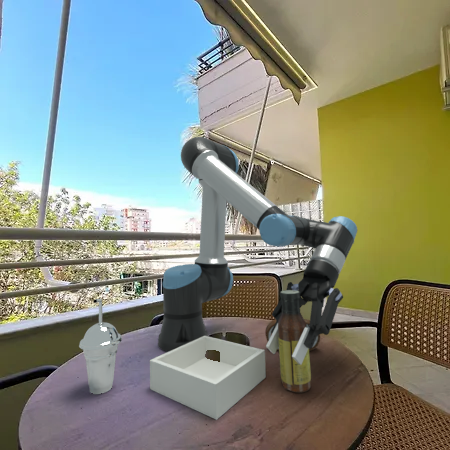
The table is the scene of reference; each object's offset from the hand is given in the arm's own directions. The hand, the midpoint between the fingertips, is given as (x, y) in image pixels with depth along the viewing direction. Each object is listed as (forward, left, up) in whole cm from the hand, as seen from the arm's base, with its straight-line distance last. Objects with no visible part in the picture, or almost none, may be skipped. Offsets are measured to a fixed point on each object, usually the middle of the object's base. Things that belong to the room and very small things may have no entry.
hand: (282, 355), depth 57 cm
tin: (-7, +21, -8) cm, 24 cm away
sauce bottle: (+1, +3, -8) cm, 8 cm away
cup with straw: (-33, -21, -8) cm, 40 cm away
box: (-15, -6, -7) cm, 18 cm away
